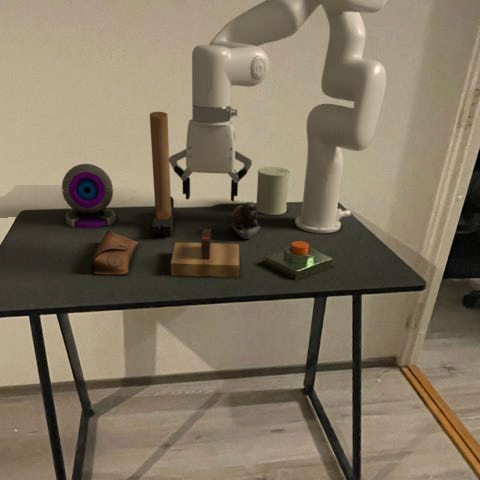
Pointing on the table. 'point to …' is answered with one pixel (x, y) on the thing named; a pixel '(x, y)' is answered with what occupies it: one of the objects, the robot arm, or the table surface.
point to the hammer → (161, 175)
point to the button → (300, 247)
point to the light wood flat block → (205, 260)
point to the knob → (206, 243)
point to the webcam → (88, 196)
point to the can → (272, 190)
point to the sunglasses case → (113, 255)
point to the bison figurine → (246, 220)
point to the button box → (298, 262)
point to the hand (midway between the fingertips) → (210, 198)
